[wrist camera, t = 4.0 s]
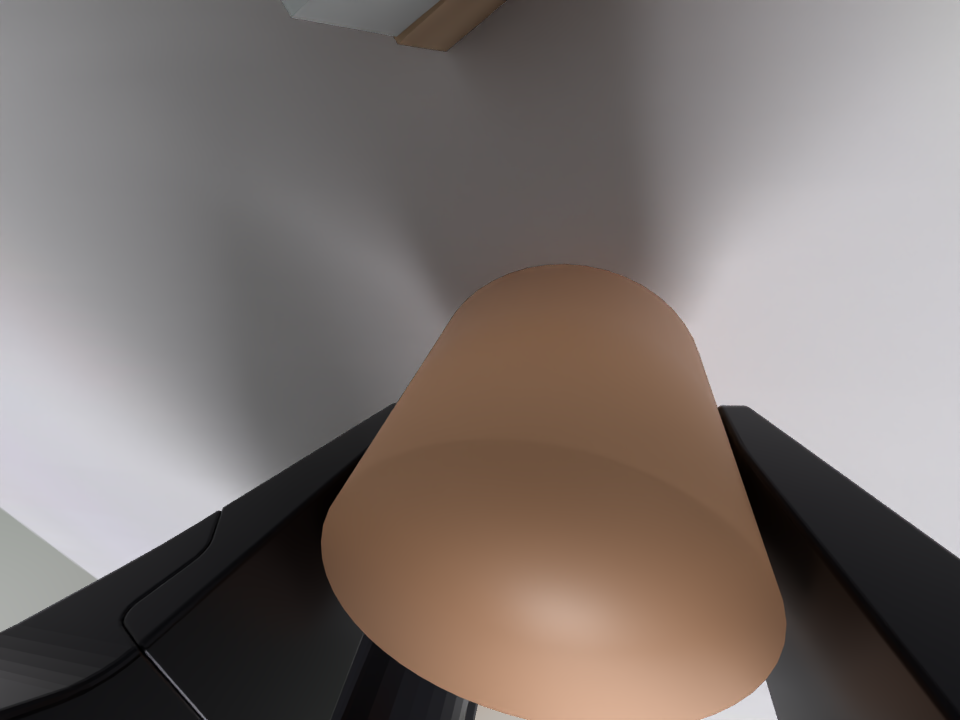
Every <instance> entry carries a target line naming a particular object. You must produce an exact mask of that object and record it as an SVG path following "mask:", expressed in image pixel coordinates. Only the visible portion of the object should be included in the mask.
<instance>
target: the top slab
mask: <svg viewBox="0 0 960 720" xmlns="http://www.w3.org/2000/svg"><path fill="white" fill-rule="evenodd" d="M281 1H282V3H283V5H284V6H285V8H286V10H287V11H288V13H289V15H290V16H291V18H296V19H301V20H307V21H312V22H318V23H323V24H329V25H334V26H340V27H345V28H351V29H356V30H362V31H367V32H373V33H379V34H384V35H390V36H395V37H397V36H398V35H399V34H401V33H402V32H403V31H404V30H405V29H406V28H408V27H409V26H410V25H411V24H412V23H414V22H415V21H416V20H417V19H418V18H420V17H421V16H422V15H423V14H424V13H426V12H427V11H428V10H429V9H430V8H432V7H433V6H434V5H435V4H436V3H438V2H439V1H440V0H281Z"/></svg>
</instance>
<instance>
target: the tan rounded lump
mask: <svg viewBox="0 0 960 720" xmlns="http://www.w3.org/2000/svg"><path fill="white" fill-rule="evenodd" d="M321 550H322V560H323V564H324V568H325V572H326V576H327V578H328V580H329V583H330V585H331V587H332V590H333V592H334V594H335V595H336V597H337V599H338V600H339V602H340V604H341V605H342V607H343V608H344V610H345V611H346V612H347V614H348V615H349V616H350V617H351V619H352V620H353V621H354V623H355V624H356V625H357V626H358V627H359V628H360V629H361V630H362V631H363V632H364V633H365V634H366V635H367V637H368V638H370V639H371V640H372V641H373V642H374V643H375V644H376V645H377V646H379V647H380V648H381V649H382V650H383V651H384V652H386V653H387V654H388V655H390V656H391V657H392V658H394V659H395V660H396V661H398V662H399V663H400V664H402V665H403V666H405V667H406V668H408V669H409V670H411V671H412V672H414V673H415V674H417V675H419V676H420V677H422V678H424V679H426V680H427V681H429V682H431V683H433V684H435V685H436V686H438V687H440V688H442V689H444V690H446V691H448V692H451V693H453V694H455V695H457V696H459V697H461V698H464V699H466V700H469V701H471V702H474V703H476V704H479V705H481V706H484V707H487V708H490V709H493V710H496V711H499V712H502V713H505V714H509V715H512V716H516V717H519V718H523V719H527V720H700V719H702V718H705V717H708V716H711V715H714V714H717V713H719V712H721V711H723V710H725V709H727V708H729V707H731V706H733V705H735V704H737V703H738V702H740V701H741V700H743V699H744V698H745V697H747V696H748V695H750V694H751V693H753V692H754V691H755V690H756V689H757V688H758V687H759V686H760V685H761V684H762V683H763V682H764V681H765V680H766V679H767V678H768V676H769V675H770V673H771V672H772V670H773V669H774V667H775V666H776V664H777V663H778V660H779V658H780V655H781V652H782V649H783V647H784V644H785V634H786V624H787V623H786V616H785V609H784V603H783V599H782V596H781V593H780V590H779V587H778V584H777V581H776V578H775V575H774V573H773V570H772V567H771V564H770V561H769V558H768V555H767V552H766V549H765V546H764V543H763V540H762V537H761V534H760V531H759V528H758V525H757V523H756V520H755V517H754V514H753V511H752V508H751V505H750V502H749V499H748V496H747V493H746V490H745V487H744V484H743V481H742V478H741V475H740V473H739V470H738V467H737V464H736V461H735V458H734V455H733V452H732V449H731V446H730V443H729V440H728V437H727V434H726V431H725V428H724V425H723V423H722V420H721V417H720V414H719V411H718V408H717V405H716V402H715V399H714V396H713V393H712V390H711V387H710V384H709V381H708V378H707V375H706V373H705V370H704V367H703V364H702V361H701V358H700V355H699V352H698V350H697V347H696V344H695V342H694V339H693V337H692V336H691V334H690V332H689V331H688V329H687V327H686V325H685V324H684V323H683V321H682V320H681V319H680V318H679V316H678V315H677V314H676V313H675V311H674V310H673V309H672V308H671V307H670V306H669V305H667V304H666V303H665V302H664V301H663V300H662V299H661V298H660V297H658V296H657V295H656V294H654V293H653V292H651V291H650V290H648V289H647V288H645V287H644V286H642V285H640V284H638V283H636V282H634V281H632V280H630V279H628V278H627V277H624V276H621V275H618V274H616V273H613V272H610V271H607V270H603V269H598V268H594V267H589V266H581V265H570V264H557V265H543V266H537V267H530V268H526V269H522V270H519V271H516V272H512V273H509V274H507V275H505V276H502V277H500V278H498V279H496V280H494V281H492V282H490V283H489V284H487V285H485V286H484V287H482V288H481V289H479V290H478V291H476V292H475V293H474V294H473V295H472V296H471V297H469V298H468V299H467V300H466V301H465V302H464V303H463V304H462V305H461V307H460V308H459V309H458V310H457V311H456V312H455V314H454V315H453V317H452V318H451V320H450V321H449V323H448V325H447V326H446V328H445V329H444V331H443V332H442V334H441V335H440V337H439V339H438V340H437V342H436V343H435V345H434V346H433V348H432V349H431V351H430V353H429V354H428V356H427V357H426V359H425V360H424V362H423V363H422V365H421V367H420V368H419V370H418V371H417V373H416V374H415V376H414V377H413V379H412V381H411V382H410V384H409V385H408V387H407V388H406V390H405V391H404V393H403V395H402V396H401V398H400V399H399V401H398V402H397V404H396V405H395V407H394V409H393V410H392V412H391V413H390V415H389V416H388V418H387V419H386V421H385V423H384V424H383V426H382V427H381V429H380V430H379V432H378V433H377V435H376V437H375V438H374V440H373V441H372V443H371V444H370V446H369V447H368V449H367V451H366V452H365V454H364V455H363V457H362V458H361V460H360V461H359V463H358V465H357V466H356V468H355V469H354V471H353V472H352V474H351V475H350V477H349V479H348V480H347V482H346V483H345V485H344V486H343V488H342V489H341V491H340V493H339V494H338V496H337V497H336V499H335V500H334V502H333V503H332V505H331V507H330V508H329V511H328V513H327V516H326V519H325V521H324V524H323V530H322V538H321Z"/></svg>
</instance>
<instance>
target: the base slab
mask: <svg viewBox="0 0 960 720" xmlns="http://www.w3.org/2000/svg"><path fill="white" fill-rule="evenodd" d="M506 1H507V0H440V1H439V2H438V3H436V4H435V5H434V6H433V7H432V8H430V9H429V10H428V11H427V12H426V13H424V14H423V15H422V16H421V17H420V18H418V19H417V20H416V21H415V22H414V23H412V24H411V25H410V26H409V27H408V28H406V29H405V30H404V31H403V32H402V33H401V34H399V35H398V36H397V37H395V36H393V37H394V39H395V40H396V42H397V44H400V45H406V46H413V47H419V48H426V49H432V50H439V51H445V52H446V51H448V50H449V49H450V48H451V47H452V46H453V45H455V44H456V43H457V42H458V41H459V40H461V39H462V38H463V37H464V36H465V35H467V34H468V33H469V32H470V31H471V30H473V29H474V28H475V27H476V26H477V25H479V24H480V23H481V22H482V21H483V20H484V19H486V18H487V17H488V16H489V15H490V14H492V13H493V12H494V11H495V10H496V9H498V8H499V7H500V6H501V5H502V4H504V3H505V2H506Z"/></svg>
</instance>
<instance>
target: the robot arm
mask: <svg viewBox="0 0 960 720" xmlns="http://www.w3.org/2000/svg"><path fill="white" fill-rule="evenodd" d="M396 404H397V403H393V404H391V405H390V406H388V407H386V408H385V409H383V410H381V411H380V412H378V413H377V414H375V415H373V416H372V417H370V418H368V419H367V420H365V421H363V422H362V423H360V424H359V425H357V426H355V427H354V428H352V429H350V430H349V431H347V432H346V433H344V434H342V435H341V436H339V437H337V438H336V439H334V440H333V441H331V442H329V443H328V444H326V445H324V446H323V447H321V448H319V449H318V450H316V451H315V452H313V453H311V454H310V455H308V456H306V457H305V458H303V459H302V460H300V461H298V462H297V463H295V464H293V465H292V466H290V467H288V468H287V469H285V470H284V471H282V472H280V473H279V474H277V475H275V476H274V477H272V478H271V479H269V480H267V481H266V482H264V483H262V484H261V485H259V486H258V487H256V488H254V489H253V490H251V491H249V492H248V493H246V494H244V495H243V496H241V497H240V498H238V499H236V500H235V501H233V502H231V503H230V504H228V505H227V506H225V507H223V509H222V511H216V512H215V513H213V514H212V515H210V516H208V517H207V518H205V519H204V520H202V521H200V522H199V523H197V524H195V525H194V526H192V527H190V528H189V529H187V530H185V531H184V532H182V533H180V534H179V535H177V536H175V537H174V538H172V539H170V540H169V541H167V542H165V543H163V544H162V545H160V546H158V547H157V548H155V549H153V550H151V551H149V552H148V553H146V554H144V555H142V556H140V557H139V558H137V559H135V560H133V561H131V562H130V563H128V564H126V565H124V566H122V567H121V568H119V569H117V570H115V571H113V572H112V573H110V574H108V575H106V576H104V577H102V578H101V579H99V580H97V581H95V582H93V583H91V584H90V585H88V586H86V587H84V588H82V589H80V590H79V591H77V592H75V593H73V594H71V595H70V596H68V597H66V598H64V599H62V600H60V601H58V602H56V603H55V604H53V605H51V606H49V607H47V608H46V609H44V610H42V611H40V612H38V613H36V614H35V615H33V616H31V617H29V618H27V619H25V620H23V621H22V622H20V623H18V624H16V625H14V626H12V627H10V628H8V629H6V630H4V631H2V632H0V720H475V715H476V711H477V705H478V704H476V703H474V702H471V701H469V700H466V699H464V698H461V697H459V696H457V695H455V694H453V693H451V692H448V691H446V690H444V689H442V688H440V687H438V686H436V685H435V684H433V683H431V682H429V681H427V680H426V679H424V678H422V677H420V676H419V675H417V674H415V673H414V672H412V671H411V670H409V669H408V668H406V667H405V666H403V665H402V664H400V663H399V662H398V661H396V660H395V659H394V658H392V657H391V656H390V655H388V654H387V653H386V652H384V651H383V650H382V649H381V648H380V647H379V646H377V645H376V644H375V643H374V642H373V641H372V640H371V639H370V638H368V637H367V635H366V634H365V633H364V632H363V631H362V630H361V629H360V628H359V627H358V626H357V625H356V624H355V623H354V621H353V620H352V619H351V617H350V616H349V615H348V614H347V612H346V611H345V610H344V608H343V607H342V605H341V604H340V602H339V600H338V599H337V597H336V595H335V594H334V592H333V590H332V587H331V585H330V583H329V580H328V578H327V576H326V572H325V568H324V564H323V560H322V550H321V538H322V530H323V524H324V521H325V519H326V516H327V513H328V511H329V508H330V507H331V505H332V503H333V502H334V500H335V499H336V497H337V496H338V494H339V493H340V491H341V489H342V488H343V486H344V485H345V483H346V482H347V480H348V479H349V477H350V475H351V474H352V472H353V471H354V469H355V468H356V466H357V465H358V463H359V461H360V460H361V458H362V457H363V455H364V454H365V452H366V451H367V449H368V447H369V446H370V444H371V443H372V441H373V440H374V438H375V437H376V435H377V433H378V432H379V430H380V429H381V427H382V426H383V424H384V423H385V421H386V419H387V418H388V416H389V415H390V413H391V412H392V410H393V409H394V407H395V405H396ZM718 411H719V414H720V417H721V420H722V423H723V425H724V428H725V431H726V434H727V437H728V440H729V443H730V446H731V449H732V452H733V455H734V458H735V461H736V464H737V467H738V470H739V473H740V475H741V478H742V481H743V484H744V487H745V490H746V493H747V496H748V499H749V502H750V505H751V508H752V511H753V514H754V517H755V520H756V523H757V525H758V528H759V531H760V534H761V537H762V540H763V543H764V546H765V549H766V552H767V555H768V558H769V561H770V564H771V567H772V570H773V573H774V575H775V578H776V581H777V584H778V587H779V590H780V593H781V596H782V599H783V603H784V609H785V616H786V623H787V624H786V634H785V644H784V647H783V649H782V652H781V655H780V658H779V660H778V663H777V664H776V666H775V667H774V669H773V670H772V672H771V673H770V675H769V676H768V678H767V679H766V682H767V685H768V689H769V692H770V695H771V699H772V702H773V705H774V709H775V712H776V715H777V718H778V720H960V558H958V557H957V556H955V555H954V554H953V553H951V552H950V551H948V550H947V549H946V548H944V547H943V546H941V545H940V544H939V543H937V542H936V541H934V540H933V539H932V538H930V537H929V536H928V535H926V534H925V533H923V532H922V531H921V530H919V529H918V528H916V527H915V526H914V525H912V524H911V523H909V522H908V521H907V520H905V519H904V518H902V517H901V516H900V515H898V514H897V513H896V512H894V511H893V510H891V509H890V508H889V507H887V506H886V505H884V504H883V503H882V502H880V501H879V500H877V499H876V498H875V497H873V496H872V495H870V494H869V493H868V492H866V491H865V490H864V489H862V488H861V487H859V486H858V485H857V484H855V483H854V482H852V481H851V480H850V479H848V478H847V477H845V476H844V475H843V474H841V473H840V472H839V471H837V470H836V469H834V468H833V467H832V466H830V465H829V464H827V463H826V462H825V461H823V460H822V459H820V458H819V457H818V456H816V455H815V454H813V453H812V452H811V451H809V450H808V449H807V448H805V447H804V446H802V445H801V444H800V443H798V442H797V441H795V440H794V439H793V438H791V437H790V436H788V435H787V434H786V433H784V432H783V431H781V430H780V429H779V428H777V427H776V426H775V425H773V424H772V423H770V422H769V421H768V420H766V419H765V418H763V417H762V416H761V415H759V414H758V413H756V412H755V411H754V410H752V409H751V408H749V407H747V406H726V405H722V406H719V407H718Z"/></svg>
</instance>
